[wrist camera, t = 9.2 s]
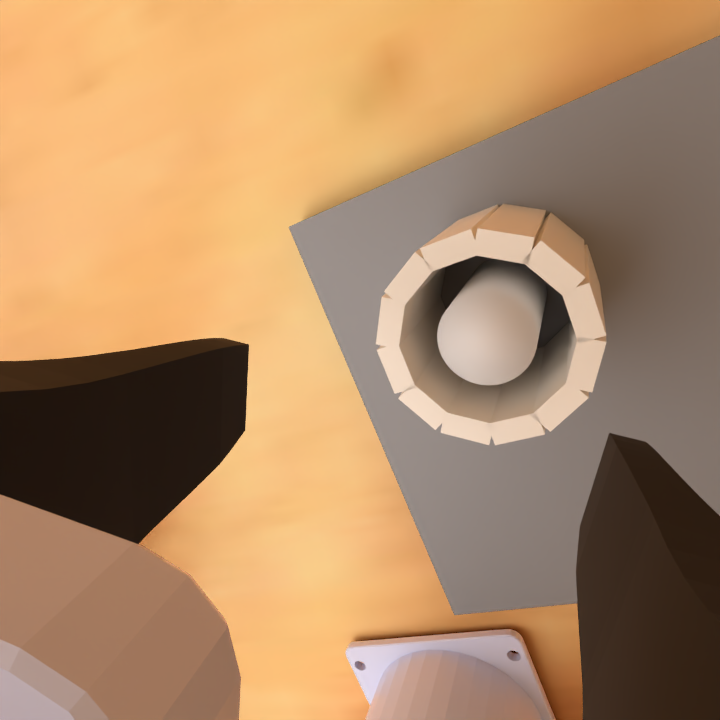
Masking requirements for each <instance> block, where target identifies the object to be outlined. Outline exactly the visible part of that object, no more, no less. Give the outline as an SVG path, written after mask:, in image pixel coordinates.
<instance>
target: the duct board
mask: <svg viewBox="0 0 720 720" xmlns="http://www.w3.org/2000/svg"><path fill="white" fill-rule="evenodd" d="M497 204H498V206H499V207H500V206H501V205H502V204H508V205H515V206H522V207H528V208H535V209H542V210H546V213H545V217H544V219H545V218H546V217H547V216H548V215H549V214H550V213H552V214H554V215H555V216H556V217H557V218H558V219H560V220H561V221H562V222H563V223H564V224H566V225H567V226H568V227H569V228H571V229H572V230H573V231H574V232H575V233H577V234H578V235H579V236H580V237H581V238H583V239H584V245H586V244H587V246H588V249H589V252H590V255H591V258H592V261H593V264H594V267H595V271H596V274H597V277H598V280H599V283H600V289H601V297H602V305H603V313H604V320H605V328H606V341H607V342H606V346H605V349H604V353H603V356H602V360H601V363H600V367H599V370H598V374H597V377H596V381H595V384H594V388H593V391H592V392H589V398H588V399H587V400H586V401H585V402H584V403H582V404H581V405H580V406H579V407H578V408H577V409H576V410H575V411H573V412H572V413H571V414H570V415H569V416H568V417H567V418H565V419H564V420H563V421H562V422H561V423H560V424H559V425H558V426H556V427H555V428H554V429H553V430H552V431H551V432H550V431H549V430H548V429H545V435H541V436H536V437H531V438H527V439H522V440H518V441H513V442H508V443H504V444H499V445H495V444H494V441H493V439H492V437H491V440H490V444H489V445H486V444H482V443H478V442H475V441H471V440H467V439H463V438H459V437H455V436H451V435H447V434H443V433H441V427H442V424H441V425H440V426H439V427H438V428H437V429H436V430H435V429H433V428H432V427H431V426H430V425H429V424H428V423H426V422H425V421H424V420H423V419H422V418H420V417H419V416H418V415H417V414H416V413H415V412H413V411H412V410H411V409H410V408H409V407H407V406H406V405H405V404H404V403H403V402H402V401H400V400H399V399H398V398H399V396H400V395H401V393H402V392H400V393H396V394H395V393H394V391H393V389H392V386H391V384H390V381H389V379H388V377H387V374H386V372H385V369H384V367H383V364H382V362H381V360H380V357H379V355H378V352H377V349H378V348H379V347H380V346H381V345H377V344H376V338H377V330H378V322H379V314H380V306H381V298H382V296H383V295H384V294H386V293H385V292H384V291H385V289H386V288H387V287H388V286H389V284H390V283H391V282H392V280H393V279H394V278H395V277H396V275H397V274H398V273H399V272H400V270H401V269H402V268H403V266H404V265H405V264H406V263H407V261H408V260H409V259H410V258H411V256H412V255H413V254H414V252H416V251H417V250H418V249H420V248H421V247H422V246H424V245H425V244H426V243H428V242H429V241H430V240H432V239H433V238H435V237H436V236H437V235H439V234H440V233H441V232H443V231H444V230H445V229H447V228H448V227H449V226H451V225H452V224H454V223H455V222H456V221H458V220H459V219H462V218H464V217H467V216H469V215H472V214H474V213H477V212H480V211H482V210H485V209H487V208H490V207H492V206H495V205H497ZM289 229H290V231H291V234H292V236H293V238H294V241H295V243H296V245H297V248H298V250H299V252H300V255H301V257H302V259H303V262H304V264H305V267H306V269H307V271H308V274H309V276H310V278H311V281H312V283H313V285H314V288H315V290H316V292H317V295H318V297H319V299H320V302H321V304H322V306H323V309H324V311H325V313H326V316H327V318H328V320H329V323H330V325H331V327H332V330H333V332H334V334H335V337H336V339H337V341H338V344H339V346H340V348H341V351H342V353H343V355H344V358H345V360H346V362H347V365H348V367H349V369H350V372H351V374H352V377H353V379H354V381H355V384H356V386H357V388H358V391H359V393H360V395H361V398H362V400H363V402H364V405H365V407H366V409H367V412H368V414H369V416H370V419H371V421H372V423H373V426H374V428H375V430H376V433H377V435H378V437H379V440H380V442H381V444H382V447H383V449H384V451H385V454H386V456H387V458H388V461H389V463H390V465H391V468H392V470H393V472H394V475H395V477H396V479H397V482H398V484H399V487H400V489H401V491H402V494H403V496H404V498H405V501H406V503H407V505H408V508H409V510H410V512H411V515H412V517H413V519H414V522H415V524H416V526H417V529H418V531H419V533H420V536H421V538H422V540H423V543H424V545H425V547H426V550H427V552H428V554H429V557H430V559H431V561H432V564H433V566H434V568H435V571H436V573H437V575H438V578H439V580H440V582H441V585H442V587H443V589H444V592H445V594H446V597H447V599H448V601H449V604H450V606H451V608H452V611H453V613H454V615H461V614H471V613H482V612H492V611H502V610H513V609H523V608H533V607H544V606H554V605H564V604H575V603H577V586H576V564H577V551H578V540H579V530H580V524H581V521H582V518H583V514H584V511H585V508H586V505H587V502H588V499H589V495H590V492H591V489H592V486H593V483H594V479H595V476H596V473H597V470H598V467H599V464H600V460H601V457H602V454H603V451H604V448H605V445H606V441H607V438H608V435H609V433H612V434H616V435H620V436H624V437H628V438H633V439H637V440H641V441H645V442H647V443H648V444H649V445H650V446H651V447H653V448H654V449H655V450H656V451H657V452H658V453H659V454H660V455H661V456H662V458H663V459H664V460H665V461H666V462H667V463H668V464H669V465H670V466H671V467H672V468H673V469H674V470H675V471H676V472H677V473H678V474H679V476H680V477H681V478H682V479H683V480H684V481H685V482H686V483H687V484H688V485H689V486H690V487H691V488H692V489H693V490H694V491H695V492H696V493H697V494H698V495H699V496H700V497H701V498H702V499H703V500H704V501H705V502H706V503H707V504H708V505H709V506H710V507H711V508H712V509H713V510H714V511H715V512H716V513H717V514H718V515H719V516H720V36H717V37H715V38H713V39H711V40H708V41H706V42H704V43H702V44H699V45H697V46H695V47H693V48H690V49H688V50H686V51H684V52H681V53H679V54H677V55H675V56H672V57H670V58H668V59H666V60H663V61H661V62H659V63H657V64H654V65H652V66H650V67H648V68H645V69H643V70H641V71H639V72H636V73H634V74H632V75H630V76H627V77H625V78H623V79H621V80H618V81H616V82H614V83H612V84H609V85H607V86H605V87H603V88H600V89H598V90H596V91H594V92H591V93H589V94H587V95H585V96H582V97H580V98H578V99H576V100H573V101H571V102H569V103H567V104H564V105H562V106H560V107H558V108H555V109H553V110H551V111H549V112H546V113H544V114H542V115H540V116H537V117H535V118H533V119H531V120H528V121H526V122H524V123H522V124H519V125H517V126H515V127H513V128H510V129H508V130H506V131H504V132H501V133H499V134H497V135H495V136H492V137H490V138H488V139H486V140H483V141H481V142H479V143H477V144H474V145H472V146H470V147H468V148H465V149H463V150H461V151H459V152H456V153H454V154H452V155H450V156H447V157H445V158H443V159H441V160H438V161H436V162H434V163H432V164H429V165H427V166H425V167H423V168H420V169H418V170H416V171H414V172H411V173H409V174H407V175H405V176H402V177H400V178H398V179H396V180H393V181H391V182H389V183H387V184H384V185H382V186H380V187H378V188H375V189H373V190H371V191H369V192H366V193H364V194H362V195H360V196H357V197H355V198H353V199H351V200H348V201H346V202H344V203H342V204H339V205H337V206H335V207H333V208H330V209H328V210H326V211H324V212H321V213H319V214H317V215H315V216H312V217H310V218H308V219H306V220H303V221H301V222H299V223H297V224H294V225H292V226H290V227H289ZM441 299H442V302H443V304H444V307H445V309H446V311H445V312H444V314H443V316H442V318H441V320H440V323H439V326H438V332H437V342H438V347H439V351H440V353H441V356H442V358H443V360H444V361H445V363H446V364H447V365H448V367H449V368H450V369H451V370H452V371H453V372H454V373H456V374H457V375H458V376H460V377H461V378H463V379H465V380H467V381H469V382H472V383H475V384H480V385H498V384H503V383H506V382H509V381H511V380H513V379H515V378H516V377H518V376H519V375H520V374H522V373H523V372H524V371H525V370H526V369H527V368H528V366H529V365H530V363H531V362H532V360H533V358H534V355H535V352H536V349H537V348H540V347H544V346H545V345H546V344H547V343H548V342H549V341H550V340H551V339H552V338H553V337H554V336H555V335H556V334H557V333H558V332H559V331H560V330H562V329H563V328H564V327H565V326H566V325H567V324H568V323H569V321H570V317H569V314H568V311H567V308H566V305H565V302H564V299H563V296H562V295H561V294H560V293H559V292H558V291H556V290H555V289H554V288H553V287H552V286H550V285H549V284H548V283H547V282H546V281H544V280H543V279H542V278H541V277H540V276H538V275H537V274H536V273H535V272H534V271H532V270H531V269H530V268H529V267H528V266H526V265H525V264H522V263H516V262H510V261H504V260H499V259H493V258H487V257H481V256H474V257H471V258H468V259H465V260H463V261H460V262H457V263H454V264H452V265H449V266H446V267H445V273H444V279H443V285H442V291H441Z"/></svg>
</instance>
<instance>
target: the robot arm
mask: <svg viewBox="0 0 720 720" xmlns="http://www.w3.org/2000/svg"><path fill="white" fill-rule="evenodd" d="M248 351H249V345H248V344H244V343H240V342H236V341H232V340H228V339H224V338H209V339H199V340H191V341H184V342H177V343H171V344H165V345H158V346H152V347H146V348H140V349H134V350H127V351H120V352H113V353H105V354H98V355H91V356H83V357H74V358H63V359H49V360H33V361H0V720H239V702H240V682H241V677H240V673H239V669H238V665H237V661H236V657H235V653H234V649H233V645H232V641H231V637H230V633H229V629H228V626H227V623H226V620H225V618H224V617H223V616H222V615H221V613H220V612H219V611H218V609H217V608H216V607H215V606H214V604H213V603H212V602H211V601H210V599H209V598H208V597H207V596H206V594H205V593H204V592H203V590H202V589H201V588H200V587H199V585H198V584H197V583H196V582H195V580H194V579H193V578H192V577H191V575H190V574H188V573H187V572H185V571H183V570H182V569H180V568H178V567H177V566H175V565H173V564H172V563H170V562H169V561H167V560H165V559H164V558H162V557H160V556H159V555H157V554H155V553H154V552H152V551H150V550H149V549H147V548H145V547H144V546H142V545H139V543H140V542H141V541H142V539H143V538H144V537H145V536H146V535H147V534H148V533H149V532H150V531H151V530H152V529H153V528H154V527H155V526H156V525H157V524H158V523H159V522H161V521H162V520H163V519H164V518H165V517H166V516H167V515H168V514H169V513H170V512H171V511H172V510H173V509H174V508H175V507H176V506H177V505H178V504H179V503H180V502H181V501H182V500H183V499H185V498H186V497H187V496H188V495H189V494H190V493H191V492H192V491H193V490H194V489H195V488H196V487H197V486H198V485H199V484H200V483H201V482H202V481H203V480H204V479H205V478H206V477H207V476H208V475H209V474H210V473H211V472H212V471H213V470H214V469H215V468H216V467H217V466H218V465H219V464H220V463H221V462H222V461H223V459H224V458H225V457H226V455H227V454H228V453H229V452H230V450H231V449H232V448H233V446H234V445H235V443H236V442H237V441H238V439H239V438H240V437H241V435H242V434H243V432H244V431H245V421H246V398H247V374H248ZM576 586H577V603H578V620H579V636H580V652H581V667H582V683H583V720H720V516H719V515H718V514H717V513H716V512H715V511H714V510H713V509H712V508H711V507H710V506H709V505H708V504H707V503H706V502H705V501H704V500H703V499H702V498H701V497H700V496H699V495H698V494H697V493H696V492H695V491H694V490H693V489H692V488H691V487H690V486H689V485H688V484H687V483H686V482H685V481H684V480H683V479H682V478H681V477H680V476H679V474H678V473H677V472H676V471H675V470H674V469H673V468H672V467H671V466H670V465H669V464H668V463H667V462H666V461H665V460H664V459H663V458H662V456H661V455H660V454H659V453H658V452H657V451H656V450H655V449H654V448H653V447H651V446H650V445H649V444H648V443H647V442H645V441H641V440H637V439H633V438H628V437H624V436H620V435H616V434H612V433H609V435H608V438H607V441H606V445H605V448H604V451H603V454H602V457H601V460H600V464H599V467H598V470H597V473H596V476H595V479H594V483H593V486H592V489H591V492H590V495H589V499H588V502H587V505H586V508H585V511H584V514H583V518H582V521H581V524H580V530H579V540H578V551H577V564H576ZM510 651H516V652H518V654H516V653H512V652H510ZM346 657H347V659H348V661H349V663H350V665H351V667H352V669H353V671H354V673H355V675H356V677H357V679H358V682H359V684H360V686H361V688H362V690H363V692H364V694H365V696H366V698H367V700H368V702H369V704H370V708H369V711H368V713H367V716H366V719H365V720H556V719H555V717H554V714H553V712H552V709H551V707H550V704H549V702H548V699H547V697H546V694H545V692H544V689H543V687H542V684H541V682H540V680H539V677H538V675H537V672H536V670H535V667H534V665H533V662H532V660H531V657H530V655H529V652H528V650H527V647H526V645H525V642H524V640H523V638H522V636H521V635H520V634H519V633H518V632H517V631H514V630H512V629H500V630H488V631H476V632H464V633H452V634H440V635H428V636H416V637H404V638H392V639H380V640H368V641H356V642H351V643H350V644H349V645H348V647H347V649H346ZM360 661H361V662H363V663H361V662H360Z"/></svg>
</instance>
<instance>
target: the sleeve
mask: <svg viewBox="0 0 720 720" xmlns="http://www.w3.org/2000/svg"><path fill="white" fill-rule="evenodd" d="M545 213H546V210H542V209H535V208H528V207H522V206H515V205H508V204H502V205H501V206H500V207H499V206H498V204H497V205H495V206H492V207H490V208H487V209H485V210H482V211H480V212H477V213H474V214H472V215H469V216H467V217H464V218H462V219H459V220H458V221H456V222H455V223H454V224H452V225H451V226H449V227H448V228H447V229H445V230H444V231H443V232H441V233H440V234H439V235H437V236H436V237H435V238H433V239H432V240H430V241H429V242H428V243H426V244H425V245H424V246H422V247H421V248H420V249H418V250H417V251H416V252H414V254H413V255H412V256H411V258H410V259H409V260H408V261H407V263H406V264H405V265H404V266H403V268H402V269H401V270H400V272H399V273H398V274H397V275H396V277H395V278H394V279H393V280H392V282H391V283H390V284H389V286H388V287H387V288H386V289H385V291H384V292H385V293H386V294H384V295H383V296H382V298H381V306H380V314H379V322H378V330H377V338H376V344H377V345H381V346H380V347H379V348H378V349H377V352H378V355H379V357H380V360H381V362H382V364H383V367H384V369H385V372H386V374H387V377H388V379H389V381H390V384H391V386H392V389H393V391H394V393H395V394H396V393H400V392H402V393H401V395H400V396H399V398H398V399H399V400H400V401H402V402H403V403H404V404H405V405H406V406H407V407H409V408H410V409H411V410H412V411H413V412H415V413H416V414H417V415H418V416H419V417H420V418H422V419H423V420H424V421H425V422H426V423H428V424H429V425H430V426H431V427H432V428H433V429H435V430H436V429H437V428H438V427H439V426H440V425H441V424H442V427H441V433H443V434H447V435H451V436H455V437H459V438H463V439H467V440H471V441H475V442H478V443H482V444H486V445H489V444H490V440H491V437H492V439H493V441H494V444H495V445H499V444H504V443H508V442H513V441H518V440H522V439H527V438H531V437H536V436H541V435H545V429H548V430H549V431H550V432H551V431H552V430H553V429H554V428H555V427H556V426H558V425H559V424H560V423H561V422H562V421H563V420H564V419H565V418H567V417H568V416H569V415H570V414H571V413H572V412H573V411H575V410H576V409H577V408H578V407H579V406H580V405H581V404H582V403H584V402H585V401H586V400H587V399H588V398H589V392H592V391H593V388H594V384H595V381H596V377H597V374H598V370H599V367H600V363H601V360H602V356H603V353H604V349H605V346H606V342H607V341H606V328H605V320H604V313H603V305H602V297H601V289H600V283H599V280H598V277H597V274H596V271H595V267H594V264H593V261H592V258H591V255H590V252H589V249H588V246H587V244H586V245H584V239H583V238H581V237H580V236H579V235H578V234H577V233H575V232H574V231H573V230H572V229H571V228H569V227H568V226H567V225H566V224H564V223H563V222H562V221H561V220H560V219H558V218H557V217H556V216H555V215H554V214H552V213H550V214H549V215H548V216H547V217H546V218H545V219H544V217H545ZM474 256H481V257H487V258H493V259H499V260H504V261H510V262H516V263H522V264H525V265H526V266H528V267H529V268H530V269H531V270H532V271H534V272H535V273H536V274H537V275H538V276H540V277H541V278H542V279H543V280H544V281H546V282H547V283H548V284H549V285H550V286H552V287H553V288H554V289H555V290H556V291H558V292H559V293H560V294H561V295H562V296H563V299H564V302H565V305H566V308H567V311H568V314H569V317H570V321H569V323H568V324H567V325H566V326H565V327H564V328H563V329H562V330H560V331H559V332H558V333H557V334H556V335H555V336H554V337H553V338H552V339H551V340H550V341H549V342H548V343H547V344H546V345H545V346H544V347H540V348H537V349H536V352H535V355H534V358H533V360H532V362H531V363H530V365H529V366H528V368H527V369H526V370H525V371H524V372H523V373H522V374H520V375H519V376H518V377H516V378H515V379H513V380H511V381H509V382H506V383H503V384H498V385H480V384H475V383H472V382H469V381H467V380H465V379H463V378H461V377H460V376H458V375H457V374H456V373H454V372H453V371H452V370H451V369H450V368H449V367H448V365H447V364H446V363H445V361H444V360H443V358H442V356H441V353H440V351H439V347H438V342H437V332H438V326H439V323H440V320H441V318H442V316H443V314H444V312H445V311H446V309H445V307H444V304H443V302H442V299H441V291H442V285H443V279H444V273H445V267H446V266H449V265H452V264H454V263H457V262H460V261H463V260H465V259H468V258H471V257H474Z"/></svg>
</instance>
